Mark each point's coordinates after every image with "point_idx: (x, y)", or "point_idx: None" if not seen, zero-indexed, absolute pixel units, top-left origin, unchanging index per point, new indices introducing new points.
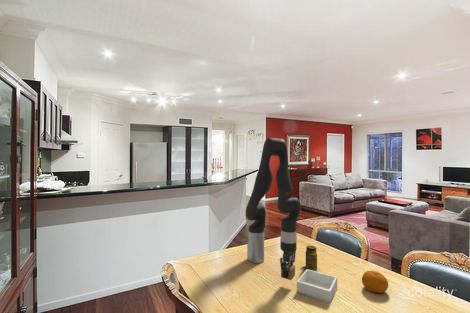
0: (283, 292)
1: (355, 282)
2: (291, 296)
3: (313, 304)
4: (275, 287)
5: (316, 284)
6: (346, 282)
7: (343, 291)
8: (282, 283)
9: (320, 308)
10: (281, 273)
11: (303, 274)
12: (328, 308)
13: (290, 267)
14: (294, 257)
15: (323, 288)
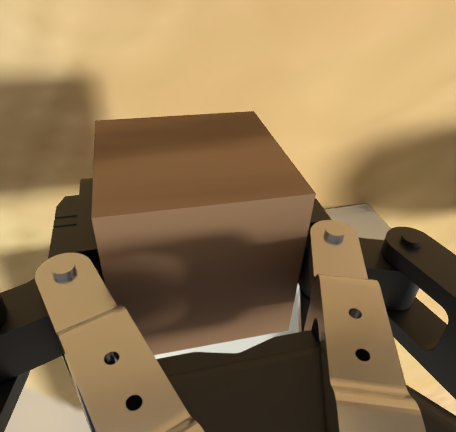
0: (12, 151)
1: (413, 377)
2: (15, 234)
3: (53, 362)
4: (29, 24)
5: (295, 296)
6: (400, 358)
7: None
8: (176, 57)
9: (46, 395)
10: (96, 156)
11: (297, 288)
12: (83, 411)
13: (183, 326)
14: (429, 360)
15: (264, 339)
